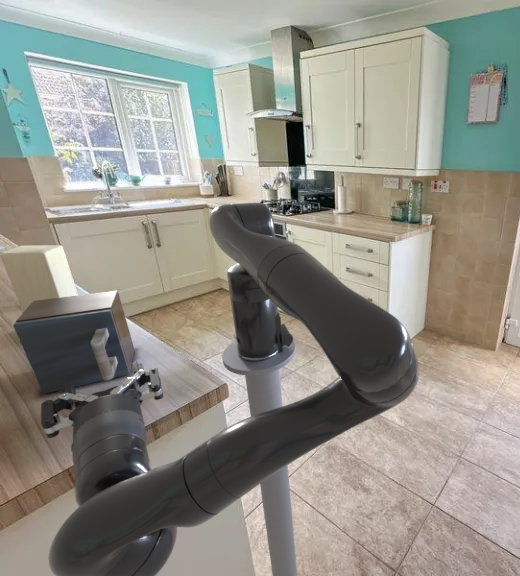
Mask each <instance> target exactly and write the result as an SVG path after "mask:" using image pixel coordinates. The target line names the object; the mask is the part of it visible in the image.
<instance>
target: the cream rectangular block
mask: <svg viewBox="0 0 520 576" xmlns="http://www.w3.org/2000/svg"><path fill="white" fill-rule="evenodd" d="M0 259H1V261H2V263H3V266H4V269H5V271H6V274H7V276H8V279H9V281H10V284H11V286H12V288H13V291H14V293H15V297H16V298H17V302H18V304H19V306H20V309H21V311H22V313H23V312H24V311H25V310H26V309H27V308H28V307H29V306H30V304H31V303H32V302H33V301H37V300H45V299H53V298H61V297H69V296H77V295H79V294H78V291H77V290H78V289H77V287H76V283H75V281H74V278H73V274H72V272H71V268H70V265H69V262H68V259H67V256H66V252H65V250H64V246H63V245H55V244H54V245H51V244H50V245H49V244H48V245H44V244H43V245H19V246H16V247H14V248H10V249H7V250H5V251H2V252H0Z"/></svg>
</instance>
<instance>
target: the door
mask: <svg viewBox="0 0 520 576" xmlns="http://www.w3.org/2000/svg"><path fill="white" fill-rule="evenodd" d="M12 326H13V329H14V331H15V334H16V335H17V337H18V340H19V342H20V344H21V346H22V348H23V351H24V354H25V355H26V358H27V360H28V362H29V365H30V367H31V369H32V371H33V374H34V376H35V378H36V380H37V382H38V385H39V388H40V389H41V392H42V394H43V395H45V394H49V393H54V392H57V391H60V388H61V387H62V386H63V385H66V381H70V380H72V381H73V383H74V386H75V388H76V387H80V386H84V385H88V384H89V385H90V384H93V383H98V382H102V381H103V382H104V381H105V382H106V381H110V380H112V379H115V378H120V377H124V376H128V375H131V374H130V373H131V370H129V367H128V363H127V360H126V357H125V354H124V350H123V347H122V344H121V340H120V337H119V334H118V330H117V327H116V324H115V321H114V317H113V314H112V311H111V309H106V310H99V311H92V312H85V313H78V314H71V315H64V316H57V317H50V318H43V319H37V320H30V321H23V322H16V321H15V322H14V324H12Z"/></svg>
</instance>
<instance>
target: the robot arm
mask: <svg viewBox="0 0 520 576" xmlns="http://www.w3.org/2000/svg"><path fill="white" fill-rule="evenodd" d="M273 217H274V216H273V214H272V212H271V209H270V208H269V207H268V205H266V204H265V203H263V202H239V203H225V204H224V203H223V204H220V205H218V206H216V207H214V208H213V209H212V211H211V212H210V215H209V218H208V220H209V221H208V223H209V224H208V225H209V229H210V233H211V236H212V238H213V240H214V242H215V243H216V245H217V246H218V248H219V249H220V250H221V251H222V252H223V253H224V254H225V255H226V256H228V257H229V258H230V259H232V260H233V261H234V262H235V264H233V265H232V266H230V267H229V269H228V270H227V274H226V275H227V283H228V291H229V297H230V304H231V311H232V320H233V326H234V334H233V336H234V339H235V340H236V342H237V351H238V356H239V357H240V358H241V359H243V360H246V361H252V362H256V361H263V360H267V359H270V358H272V357H274V356H275V355H277V354H278V353H280V352H283V346H285V345H286V346H288V347H289V346H290V345H291V343H292V342H293V341H294V336H293V334H291V333H290V331H289V329H288V328H287V326H286V324H285V323H282V319H281V318H282V317H281V313H280V312H279V309H280V310H281V311H282V312H283V313H285V314H287V315H288V316H290V317H292V318H294V319H297V320H298V321H299V322H301V323H302V324H303V325H304V326H305V328H306V329H307V330H308V332H309V333H310V334H311V336H312V337H313V338H314V340H315V341H316V342H317V344H318V346H319V347H320V348H321V350H322V351H323V353H324V354H325V356H326V357H327V359H328V361H329V363H330V364H331V367H332V368H333V370H334V371H335V373H336V374H337V376H338V377H337V378H336V379H334V380H333V381H332V382H331V383H329V384H328V385H326V386H325V387H323V388H322V389H320V390H318V391H316V392H315V393H313V394H311V395H309V396H306V397H304V398H302V399H300V400H297V401H294V402H292V403H289V404H286V405H282V406H283V407H279V408H276V409H273V410H270V411H266V412H263V413H260V414H257V415H254V416H252V417H251V416H250V417H246V418H244V419H241V420H240V421H237V422H235V423H234V424H231V425H230V426H228V427H226V428H224V429H222V430H221V431H220V432H218V433H216V434H214V435H213V436H211V437H210V438H208V439H207V440H205V441H204V442H203V443H200V445H198V446H197V447H195V448H194V449H192V450H191V451H189V452H188V453H186V454H185V455H183V456H182V457H180V458H179V459H177V460H175V461H172V462H169V463H167V464H163V465H160V466H157V467H155V468H151V462H150V456H149V451H148V446H147V441H148V438H147V430H146V425H145V421H144V416H143V411H142V407H141V405H142V403H143V402H144V401H145V400H148V399H151V398H153V399H154V400H155V401H159V400H161V399H163V398H164V392H163V387H162V380H161V377H160V373H159V369H158V367H153V368H150V369H149V370H148V371H146V370H145V368H144V365H143V363H142V362H139V363H138V362H137V361H136V360H135V361H132V366H131V367H132V371H133V375H132V376H131V377H126V378H125V379H124V380H123V381H122V382H121V383H120V384H119V385H116V386H112V387H110V388H107V389H105V390H100V391H97V392H93V393H91V395H90V394H86V393H81V392H77V389H76V387H75V386H74V383H73V381H72V380H70V381H66V385H63V386H62V387H61V388H60V390H59V395H58V397H57V398H56V399H54V400H52V399H48V400H45V401H43V402H42V403H41V404H40V414H41V415H40V425H41V427H42V429H43V431H44V433H45V435H46V438H47V439H53V438H55V437H57V436H58V435H59V434H60V430H63V429H65V428H68V427H71V426H72V443H71V447H70V451H71V454H72V455H71V456H72V464H73V466H74V485H73V486H74V499H75V502H76V504H77V505H78V508H76V509H75V510H74V511H73V512H72V513H71V514H70V515H69V516H68V517H67V519H66V520H65V521H64V522H63V523H62V524H61V526H60V527H59V529H58V530H57V532H56V534H55V535H54V537H53V540H52V541H51V544H50V547H49V550H48V557H47V558H48V559H47V560H48V566H49V569H50V571H51V573H52V574H53V575H54V576H157V575H158V574H159V573H160V572H161V571H162V569H163V568H164V567H165V565H166V564H167V562H168V561H169V559H170V558H171V557H170V556H171V555H172V553H173V550H174V548H175V544H176V540H177V535H178V528H194V527H198V526H201V525H203V524H205V523H206V522H208V521H210V520H211V519H213V518H214V517H215V516H217V515H218V514H220V513H221V512H223V511H224V510H226V509H227V508H228V507H230V506H231V505H232V504H234V503H235V502H236V501H238V500H239V499H241V498H242V497H244V496H245V495H247V494H248V493H249V492H251V491H252V490H253V489H254V488H256V487H257V486H260V483H262V482H263V481H265V480H266V479H267V478H269V477H270V476H272V475H273V474H275V473H276V472H278V471H279V470H281V469H282V468H284V467H285V466H287V465H288V466H289V465H290V464H292V463H294V462H295V461H297V460H298V459H300V458H301V457H303V456H305V455H307V454H308V453H309V452H311V451H314V450H315V449H317V448H318V447H320V446H322V445H323V444H326V443H327V442H329V441H331V440H333V439H335V438H336V437H338V436H340V435H342V434H344V433H346V432H347V431H350V430H351V429H353V428H355V427H357V426H358V425H360V424H363V423H364V422H367V421H369V420H371V419H373V418H376V417H377V416H380V415H381V414H383V413H385V412H387V411H389V410H391V409H393V408H395V407H397V406H398V405H400V404H401V403H403V402H405V401H406V400H407V399H408V398H409V397H410V395H412V393H413V392H414V391H415V389H416V388H417V386H418V382H419V379H420V365H419V360H418V357H417V353H416V351H415V348H414V344H413V341H412V338H411V336H410V334H409V332H408V330H407V328H406V327H405V326H404V324H403V323H402V322H401V321H400V320H399V319H398V318H397V317H396V316H394V315H393V314H392V313H391V312H389V311H387V310H385V309H384V308H382V307H381V306H379V305H377V304H376V303H374V302H373V301H370V300H369V299H367V298H366V297H365V296H363V295H360V294H359V293H358V292H356V291H355V290H353V289H351V288H350V287H348V286H347V285H346V284H344V283H343V282H342V281H341V280H340V279H339V278H338V277H337V276H336V275H335V274H334V273H333V272H331V270H329V269H328V268H327V267H326V266H324V265H323V264H322V263H321V262H320V261H319V260H318V259H317V258H316V257H314V256H313V255H312V254H311V253H309V252H308V251H307V250H306V249H304V248H303V247H302V246H300V245H299V244H297V243H294V242H293V241H290V240H287V239H284V238H281V237H277V236H276V229H275V222H274V218H273ZM235 340H234V341H235ZM146 386H147V387H146ZM145 387H146V388H145ZM144 388H145V390H143V389H144ZM142 390H143V391H142ZM61 411H66V412H70V413H69V415H68V416H66V417H65V416H63V415H59V413H60V412H61Z"/></svg>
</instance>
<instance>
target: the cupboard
mask: <svg viewBox="0 0 520 576" xmlns="http://www.w3.org/2000/svg"><path fill="white" fill-rule="evenodd" d="M106 309H111V311H112V314H113V317H114V321H115V324H116V327H117V330H118V334H119V337H120V340H121V344H122V347H123V350H124V354H125V357H126V360H127V363H128V367H129V370H130V371H131V370H132V367H133V366H132V362H134V361H133V360H134V357H135V356H134V355H135V349H136V348H135V345H134V342H133V339H132V335H131V332H130V327H129V324H128V322H127V317H126V314H125V311H124V308H123V304H122V300H121V298H120V293H119V291H118V290H110V291H102V292H93V293H86V294H78V295H77V296H69V297H61V298H53V299H45V300H37V301H33V302H32V303H31V304H30V306H29V307H28V308H27V309H26V310H25V311H24V312H23V311H22V313H21V314H20V315H19V317H18V318H17V319H16V320H15V323H16V322H23V321H30V320H37V319H43V318H50V317H57V316H64V315H71V314H78V313H85V312H92V311H99V310H106Z"/></svg>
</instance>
